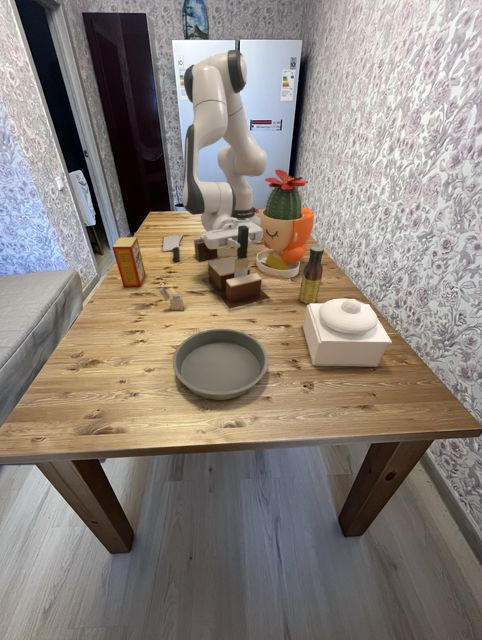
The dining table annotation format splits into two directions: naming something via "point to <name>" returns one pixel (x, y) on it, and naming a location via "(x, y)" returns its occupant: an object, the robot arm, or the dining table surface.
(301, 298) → the sauce bottle
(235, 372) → the cake pan
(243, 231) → the cake knife
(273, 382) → the dining table surface
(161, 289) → the lighter
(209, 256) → the knife block
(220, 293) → the cake board
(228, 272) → the cake
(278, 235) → the potted cactus
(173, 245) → the kitchen cleaver
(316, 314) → the white lidded canister
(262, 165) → the robot arm
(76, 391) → the dining table surface
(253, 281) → the cake slice
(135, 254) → the baking soda box
